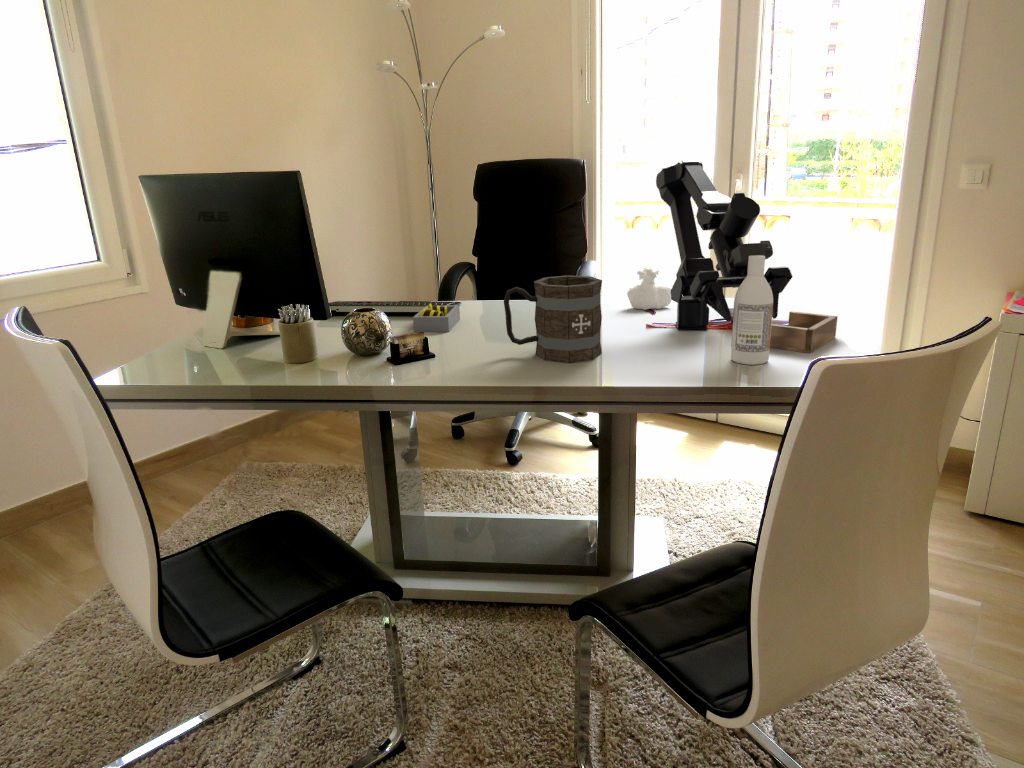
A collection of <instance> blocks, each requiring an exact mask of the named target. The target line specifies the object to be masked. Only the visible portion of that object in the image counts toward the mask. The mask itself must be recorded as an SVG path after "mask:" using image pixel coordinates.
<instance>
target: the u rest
mask: <svg viewBox="0 0 1024 768" xmlns="http://www.w3.org/2000/svg"><path fill="white" fill-rule="evenodd" d="M837 325H838V315H831V314H830V315H828V314H820V313H819V314H818V313H811V312H804V311H802V312H801V311H794V310H792V311H791V310H790V311H789V313H788V324H787V325H782V324H775V323H772V325H771V337H770V349H778V350H779V349H780V350H786V351H791V352H792V351H794V352H800V353H807V354H812V353H813V352H815V351H816V350H818V349H819V348H821V347H822V346H824V345H826V344H827V343H830V342H831V341H832V340H834V339H835V338H836V335H837Z"/></svg>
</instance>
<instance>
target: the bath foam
mask: <svg viewBox="0 0 1024 768" xmlns="http://www.w3.org/2000/svg"><path fill="white" fill-rule="evenodd" d="M748 259H749V260H748V275H747V276H746V278H745V279H744V280H743V282H742V283H741V285H740V286H739V288H737V290H736V292H735V296H734V300H733V301H734V302H733V312H732V313H733V315H732V329H731V345H730V346H731V348H730V349H731V350H730V359H731V360H732V361H733V362H734V363H738V364H741V365H749V366H756V365H763V364H767V362H768V361H769V358H770V357H769V356H770V349H771V347H770V337H771V325H772V324H773V323H772V322H773V317H772V312H773V294H772V290H771V288H770V286H769V284H768V282H767V280H766V279H765V277H764V274H765V266H766V265H765V263H766V260H765V256H763V255H754V256H749V258H748Z"/></svg>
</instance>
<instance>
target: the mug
mask: <svg viewBox="0 0 1024 768" xmlns="http://www.w3.org/2000/svg"><path fill="white" fill-rule="evenodd" d="M602 284H603V280H602V279H600V278H596V277H594V276H588V275H587V276H586V275H585V276H584V275H568V274H567V275H560V276H559V275H558V276H557V275H556V276H546V277H542V278H539V279H537V280H534V281H533V285H534V287H533V288H534V292H535V295H531V294H530V293H529V292H528V291H527V290H526V289H525V288H521V287H519V286H514V287H513V288H510V289H507V290H506V293H505V295H504V299H503V306H504V313H505V326H506V333H507V336H508V338H509V339H510V341H511V343H513V344H517V345H518V346H521V345H525V344H528V343H529V344H530V343H534V342H536V345H535V346H536V347H535V356H537V357H538V358H540V359H542V360H543V361H544V362H551V363H552V362H554V363H562V364H573V363H580V362H581V363H583V362H589V361H595V360H596V359H597V358H598V357H600V356H601V355H602V344H601V338H602V337H601V336H602V334H601V331H602V319H603V315H602V307H601V306H602V304H601V302H602V299H601V296H602V295H601V293H602ZM514 293H518V294H520V295H522V296H523V297H524V298H525V299H526V300H527V301H529V302H534V303H535V309H534V322H535V323H534V324H535V330H536V331H535V332H536V335H532V336H527V337H524V338H522V339H519V338H517V337H515V335H514V333H513V324H512V319H513V318H512V312H511V306H510V298H511V297H510V296H511V295H512V294H514Z"/></svg>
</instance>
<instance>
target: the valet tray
mask: <svg viewBox="0 0 1024 768" xmlns="http://www.w3.org/2000/svg"><path fill="white" fill-rule="evenodd" d="M439 306H440V307H445V306H447V315H446V316H420V314H421V312H422V310H423V309H424V308H428V307H429V305H425V307H422V309H421V310H420V311H418V313H416V314H414V316H413V317H412V321H413V322H412V323H413V332H414V333H430V332H431V333H450V331H451V330H452V329H453V328H454V327H455V326H456V324H457V323H458V322H459V321H460V320H461V314H460V313H461V312H460V311H461V310H460V309H461V308H460V305H439Z"/></svg>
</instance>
